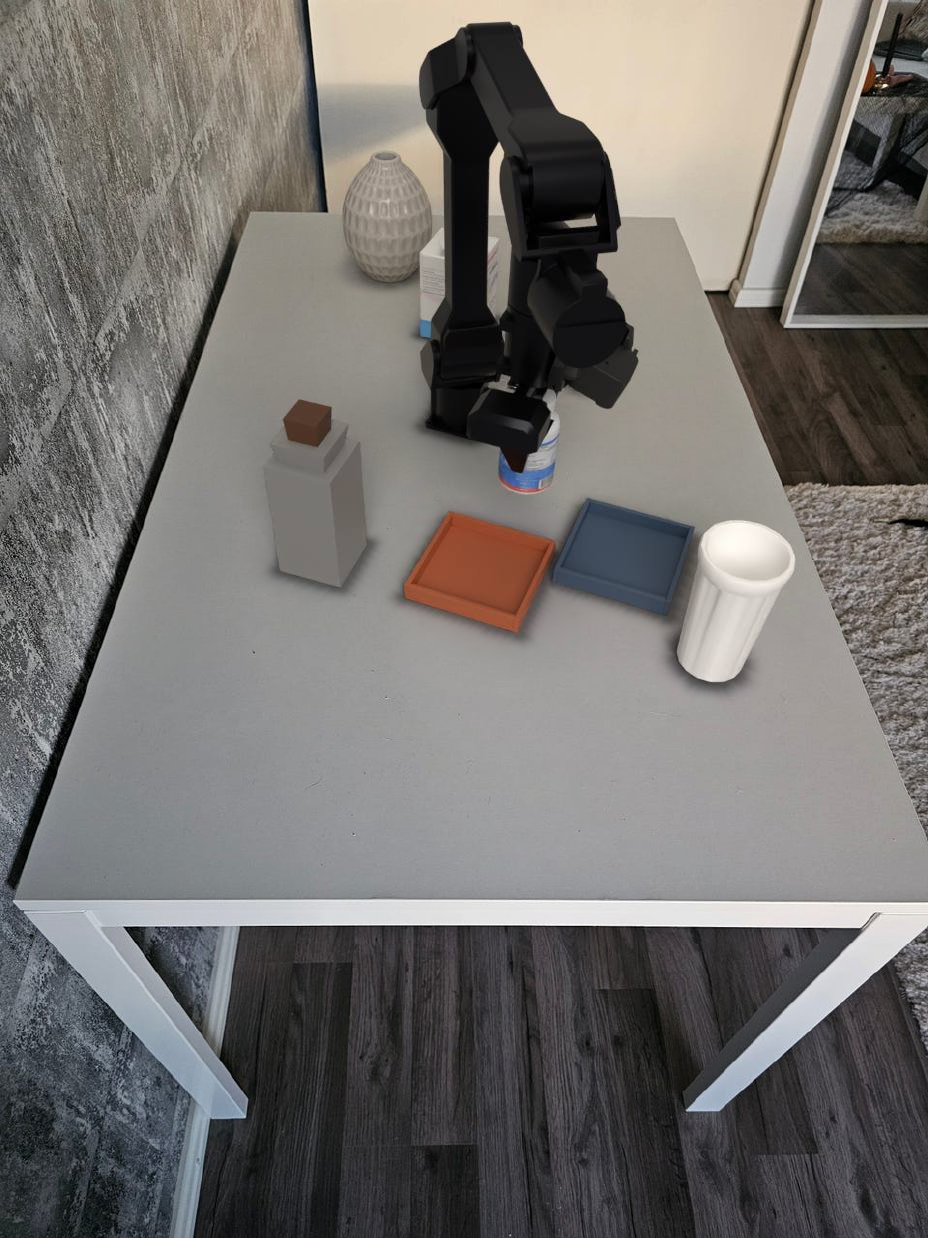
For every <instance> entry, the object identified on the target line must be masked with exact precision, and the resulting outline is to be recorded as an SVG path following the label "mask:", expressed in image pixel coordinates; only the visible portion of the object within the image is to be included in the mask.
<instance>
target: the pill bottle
mask: <svg viewBox="0 0 928 1238" xmlns="http://www.w3.org/2000/svg"><path fill="white" fill-rule="evenodd" d="M514 392H515V390H512V391H511V393H514ZM543 401H545V402H546V403H547V407H548V408H549V410H550V411H551V416H550V419H552V420H554V422H553V424H552V426H551V428H550V430H549V432H548V433H547V435H546V437H545V438H544V440H543V442H542V444H541V446H540V448H539V450H538V451H537V452H536V453H532V454H529V457H528V460H527V463H526V466H525V469H524V471H523V473H517V472H513V471H512V470H511V469H510V467H509V465H508V463H507V461H506V459H505V457H504V455H503V453H502V452H501V450H500V449H499V455H498V467H497V468H498V470H497V475H498V476H497V477H498V480H499V483H500V484H501V485H502V486H503V487H504V488H505V489H506V490H508V491H510V492H511V493H515V494H517V495H524V496H525V495H526V496H530V495H537V494H541V493H543V492H544V491H546V490H547V489H548V488H549V487H550V486H551V484H552V482H553V480H554V475H555V467H556V460H557V454H558V453H557V452H558V444H559V437H560V432H561V417H560V415H559V413H558V411H557V410H556V402H557V398H556V394H555V392H554V390H551V389H549V390H548V392H547V394H546V396H545V398H544V399H543Z"/></svg>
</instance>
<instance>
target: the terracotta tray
mask: <svg viewBox="0 0 928 1238" xmlns="http://www.w3.org/2000/svg"><path fill="white" fill-rule="evenodd" d="M556 546H557V541H556V540H553V539H550V538H546V537H543V536H539V535H537V534H533V533H528V532H525V531H522V530H518V529H515V528H511V527H507V526H505V525H501V524H498V523H493V522H490V521H488V520H487V521H486V520H483V519H479V518H476V517H473V516H469V515H466V514H461V513H458V512H454V511H451V510H449V511H448V513H447V514H446V516H445V517H444V519H443V521H442V522H441V524H440V526H439V528H438V529H437V531H436V532H435V534H434V536H433V537H432V539H431V541H430V542H429V543H428V545H427V547H426V548H425V550H424V552H423V553H422V555H421V556H420V557H419V560H418V562H417V563H416V565H415V566H414V568H413V570H412V571H411V573H410V575H408V578H407V580H406V581H405V582H404V585H403V586H404V599H408V600H410V601H414V602H417V603H420V604H423V605H427V606H430V607H433V608H435V609H439V610H442V611H446V612H449V613H452V614H456V615H458V616H462V617H465V618H468V619H472V620H475V621H477V622H481V623H485V624H488V625H491V626H494V627H496V628H497V627H498V628H501V629H504V630H507V631H510V632H513V633H517V634H518V633H519V630H520V629H521V626H522V624H523V622H524V621H525V617H526V615H527V613H528V612H529V609H530V607H531V605H532V603H533V600H534V599H535V597H536V594H537V592H538V590H539V588H540V586H541V583H542V581H543V580H544V577H545V575H546V573H547V571H548V570H549V566H550V564H551V562H552V560H553V558H554V556H555V553H556Z"/></svg>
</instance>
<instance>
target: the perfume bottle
mask: <svg viewBox="0 0 928 1238" xmlns="http://www.w3.org/2000/svg"><path fill="white" fill-rule="evenodd" d="M332 412H333V411H332V406H331V405H330V406H329V405H325V404H321V403H316V402H313V401H309V400H304V399H297V401H296V402H295V403H294V404H293V405H292V407H291V408H290V409H289V411H288V412H287V413H286V414H285V415H284V416H283V418H282V422H283V426H282V427H281V429H280V430H279V431H278V432H277V434H276V435H275V436H274V438H273V439H272V440H270V442H269V446H270V447H271V450H272V451H273V452H272V453H271V455H270V456H269V457H268V458H267V460H266V461H265V463H264V464H263V465H262V472H263V473H262V474H263V479H264V482H265V483H264V484H265V489H266V490H265V491H266V495H267V502H268V509H269V514H270V520H271V526H272V533H273V537H274V543H275V550H276V556H277V561H278V567H279V572H282V573H286V574H289V575H292V576H296V577H300V578H304V579H308V580H311V581H314V582H318V583H321V584H325V585H328V586H333V587H335V588H342V587H343V585H344V583H345V582H346V580H347V578H348V577H349V575H350V573H351V572H352V570H353V568H355V567H354V566H355V565H356V564H357V562H358V561H359V559H360V557H361V555H362V554H363V552H364V550H365V549H366V548H367V546H368V542H367V540H368V539H367V524H366V512H365V511H366V510H365V495H364V482H363V481H364V480H363V465H362V463H363V462H362V450H361V449H362V448H361V440H358V439H354V438H350V437H347V434H348V431H349V427H350V423H348V422H344V421H340V420H336V419H332Z"/></svg>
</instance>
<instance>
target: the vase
mask: <svg viewBox="0 0 928 1238" xmlns="http://www.w3.org/2000/svg"><path fill="white" fill-rule="evenodd" d="M342 206H343V207H342V217H341V218H342V219H341V220H342V221H341V222H342V231H343V237H344V242H345V243H346V247H347V249H348V251H349V253H350V255H351V257H352V258H353V260H354V261H355V263H356V264H357V265H358V267H359V268H360V270H362V271H363V272H364V274H366V275H367V276H368V277H369V278H371V280H374V281H376V282H379V283H387V284H392V283H399V282H402V281H404V280H407V279H408V278H409V277H410V276H412V274H413V273H414V272H415V271H416V270H417V269H419V267H420V252H421V251H422V249H423V248H424V247H425V246H426V245H427V244H428V243H429V241H430V240H431V239H432V238H433V211H432V205H431V202H430V198H429V196H428V193H427V191H426V189H425V186H424V185H423V183H422V181H421V180H420V178H419V177H418V175H417V174H416V173H415V172H414V171H413V170H412V169H411V168H410V166H408V165H407V164H406V163H405V162H403V159H402V156H401V155H400V154H399V153H398V152H395V151H393V150H378V151H376V152H374V153H372V154H371V156H370V159H369V161H367V163H366V164H364V166H362V167H361V169H360V170H359V171H358V172H357V173H356V175H355V176H354V177H353V179H352V180H351V182H350V184H349V187H348V189H347V191H346V194H345V197H344V201H343V205H342Z"/></svg>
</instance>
